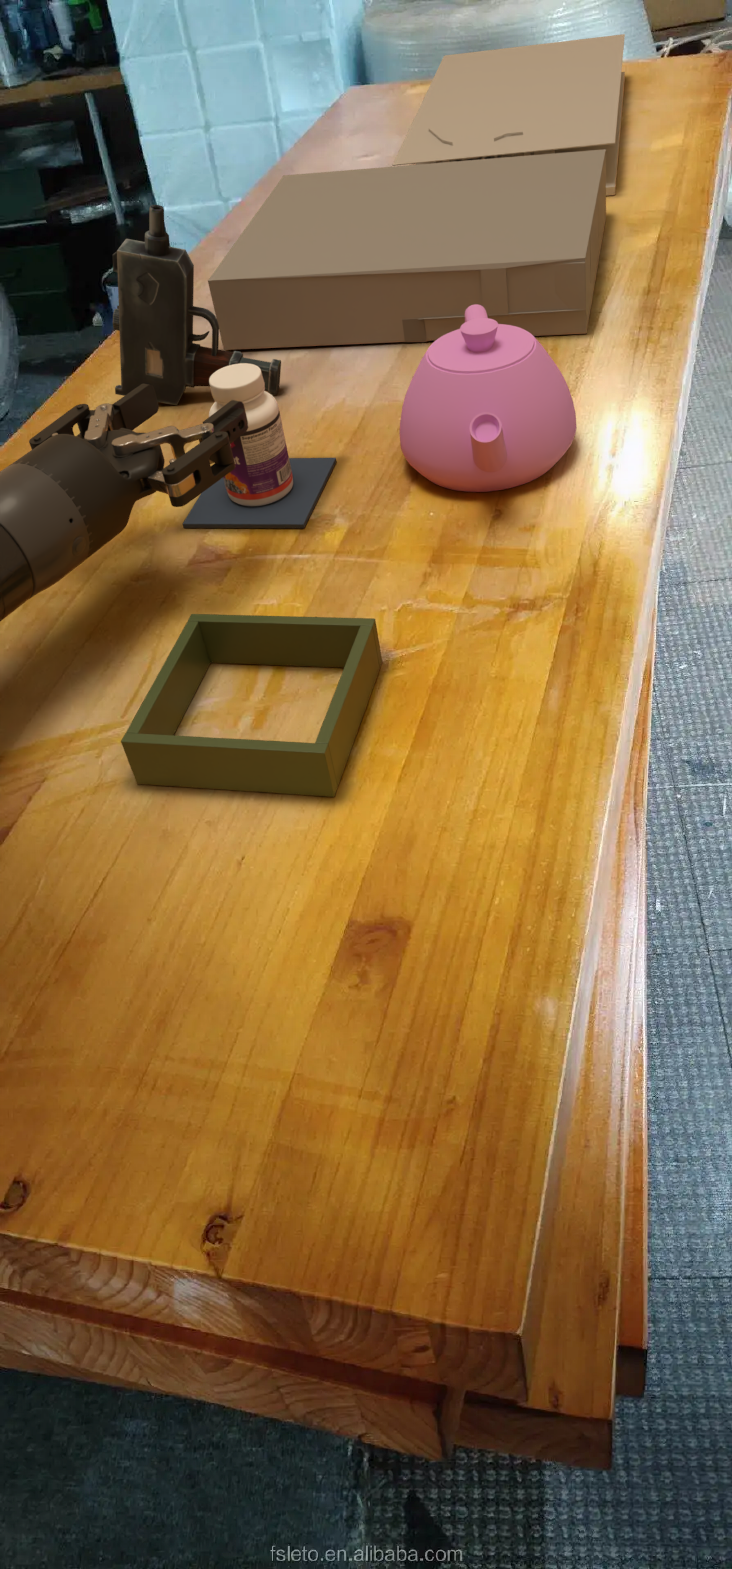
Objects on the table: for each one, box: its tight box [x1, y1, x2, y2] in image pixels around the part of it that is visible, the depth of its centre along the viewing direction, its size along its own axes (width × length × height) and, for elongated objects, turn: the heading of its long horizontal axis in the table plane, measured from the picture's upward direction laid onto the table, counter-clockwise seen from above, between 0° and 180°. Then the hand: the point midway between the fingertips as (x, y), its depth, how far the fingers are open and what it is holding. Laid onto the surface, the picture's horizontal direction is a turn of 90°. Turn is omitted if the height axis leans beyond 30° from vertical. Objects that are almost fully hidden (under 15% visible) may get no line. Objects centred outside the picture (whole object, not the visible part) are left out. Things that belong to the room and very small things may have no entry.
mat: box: [182, 457, 337, 529], centre depth 96 cm, size 10×10×1 cm
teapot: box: [399, 304, 577, 493], centre depth 91 cm, size 14×20×11 cm
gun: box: [112, 204, 282, 406], centre depth 105 cm, size 3×17×15 cm
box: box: [207, 149, 607, 351], centre depth 120 cm, size 35×29×7 cm
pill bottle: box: [208, 363, 293, 506], centre depth 92 cm, size 5×5×10 cm
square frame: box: [120, 613, 383, 798], centre depth 74 cm, size 13×13×4 cm
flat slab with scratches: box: [391, 33, 626, 197], centre depth 149 cm, size 45×24×6 cm, turn 170°
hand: (196, 403), depth 87 cm, fingers open, 8 cm apart
